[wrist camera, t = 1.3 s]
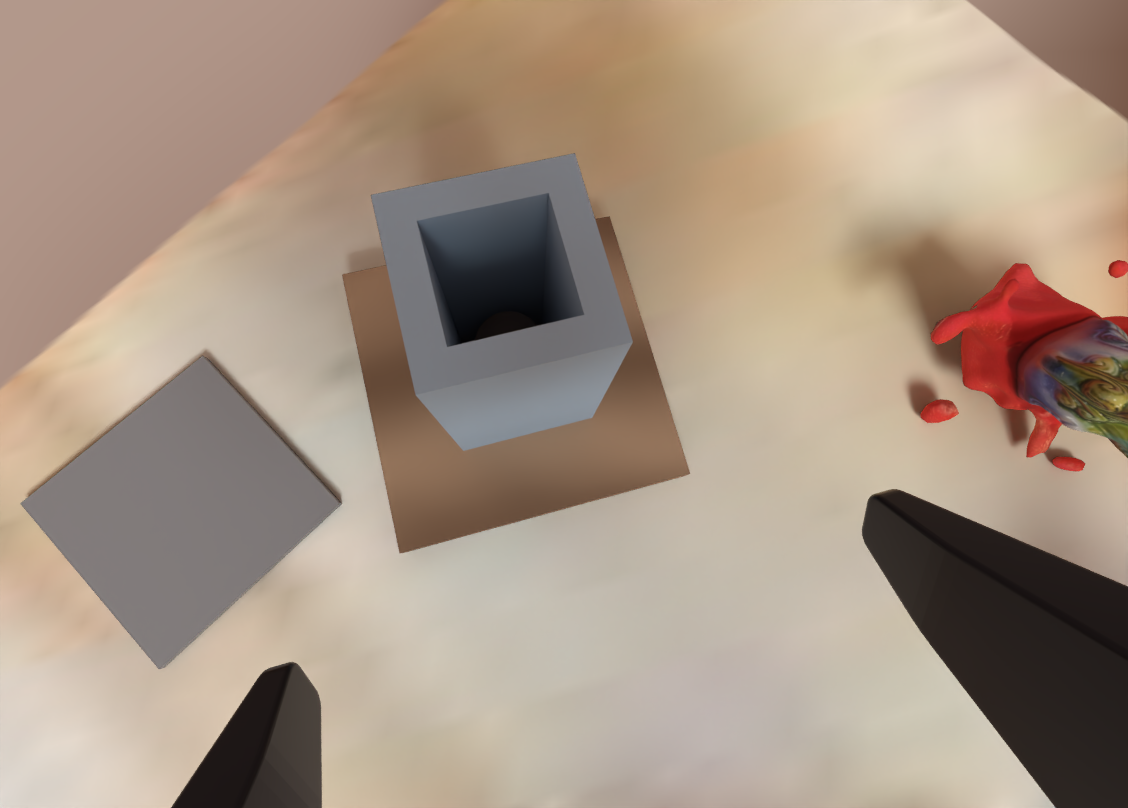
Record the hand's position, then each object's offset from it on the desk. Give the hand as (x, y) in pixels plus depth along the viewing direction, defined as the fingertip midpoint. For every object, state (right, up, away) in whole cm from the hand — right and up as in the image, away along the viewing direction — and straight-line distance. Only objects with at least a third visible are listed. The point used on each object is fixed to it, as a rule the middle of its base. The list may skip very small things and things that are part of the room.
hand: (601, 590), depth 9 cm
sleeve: (-3, +4, +13) cm, 14 cm away
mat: (-15, -1, +13) cm, 19 cm away
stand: (-3, +4, +14) cm, 15 cm away
